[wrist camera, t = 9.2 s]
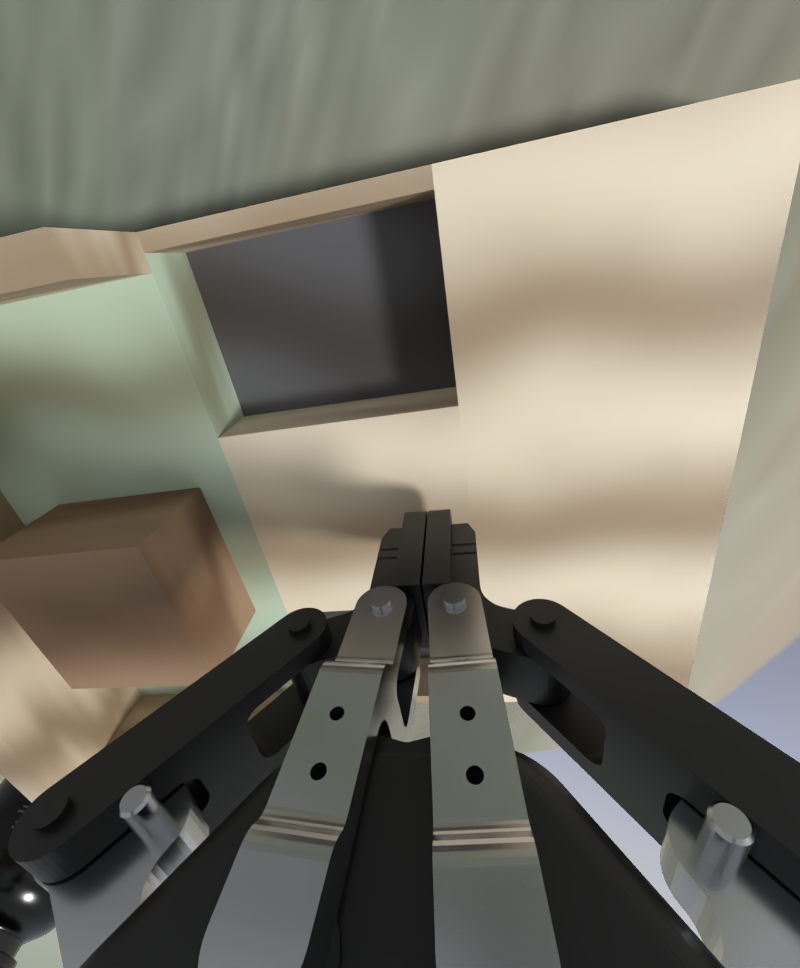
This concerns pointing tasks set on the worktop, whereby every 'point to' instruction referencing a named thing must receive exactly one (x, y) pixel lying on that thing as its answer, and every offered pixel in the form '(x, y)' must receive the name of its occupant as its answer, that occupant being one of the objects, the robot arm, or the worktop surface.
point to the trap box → (411, 383)
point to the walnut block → (127, 590)
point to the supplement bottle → (18, 887)
